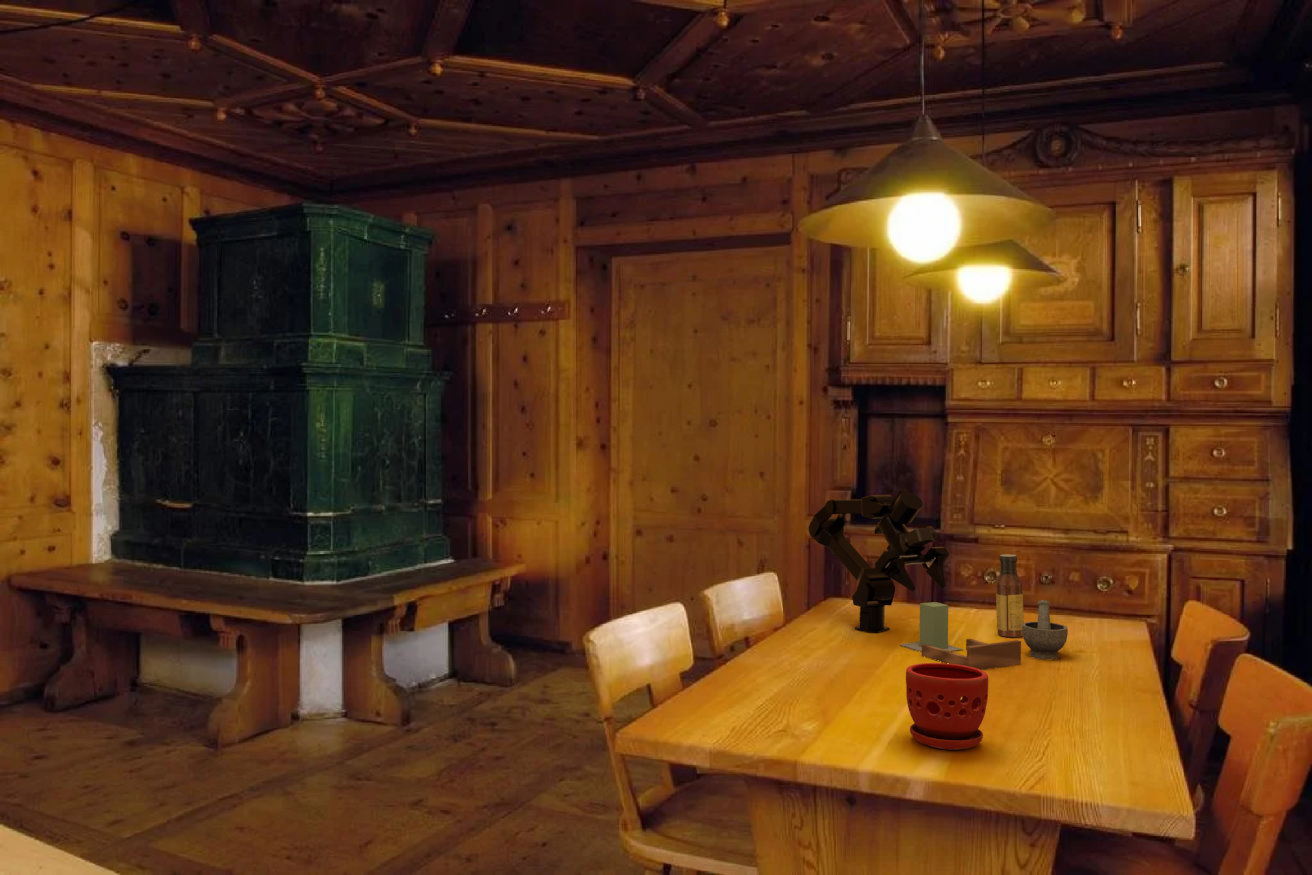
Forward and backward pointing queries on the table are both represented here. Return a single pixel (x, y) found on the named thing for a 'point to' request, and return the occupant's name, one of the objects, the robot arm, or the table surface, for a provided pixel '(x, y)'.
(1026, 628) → the mortar and pestle
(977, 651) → the frame
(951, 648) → the felt mat
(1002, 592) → the sauce bottle
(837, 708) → the table surface
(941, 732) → the plant pot
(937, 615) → the green block
